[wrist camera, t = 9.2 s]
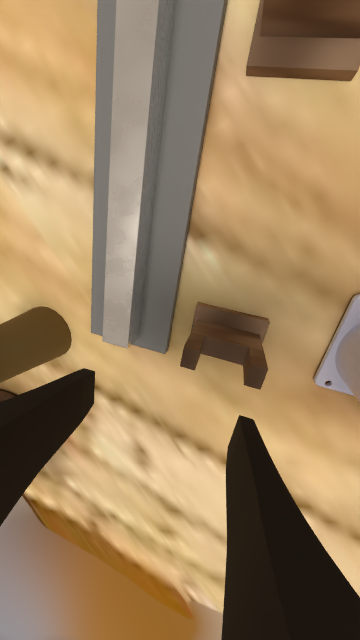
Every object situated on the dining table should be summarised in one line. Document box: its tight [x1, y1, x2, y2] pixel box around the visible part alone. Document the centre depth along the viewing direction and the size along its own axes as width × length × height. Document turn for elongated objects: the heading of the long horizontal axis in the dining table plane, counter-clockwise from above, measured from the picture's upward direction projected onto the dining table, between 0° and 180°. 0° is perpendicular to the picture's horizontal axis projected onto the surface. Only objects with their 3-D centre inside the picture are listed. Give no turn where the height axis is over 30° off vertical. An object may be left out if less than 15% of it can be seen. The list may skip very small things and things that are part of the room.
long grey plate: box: [91, 0, 227, 354], centre depth 17 cm, size 8×26×1 cm, turn 171°
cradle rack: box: [180, 0, 360, 389], centre depth 13 cm, size 6×23×6 cm, turn 171°
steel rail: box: [103, 0, 176, 348], centre depth 16 cm, size 2×24×2 cm, turn 171°
